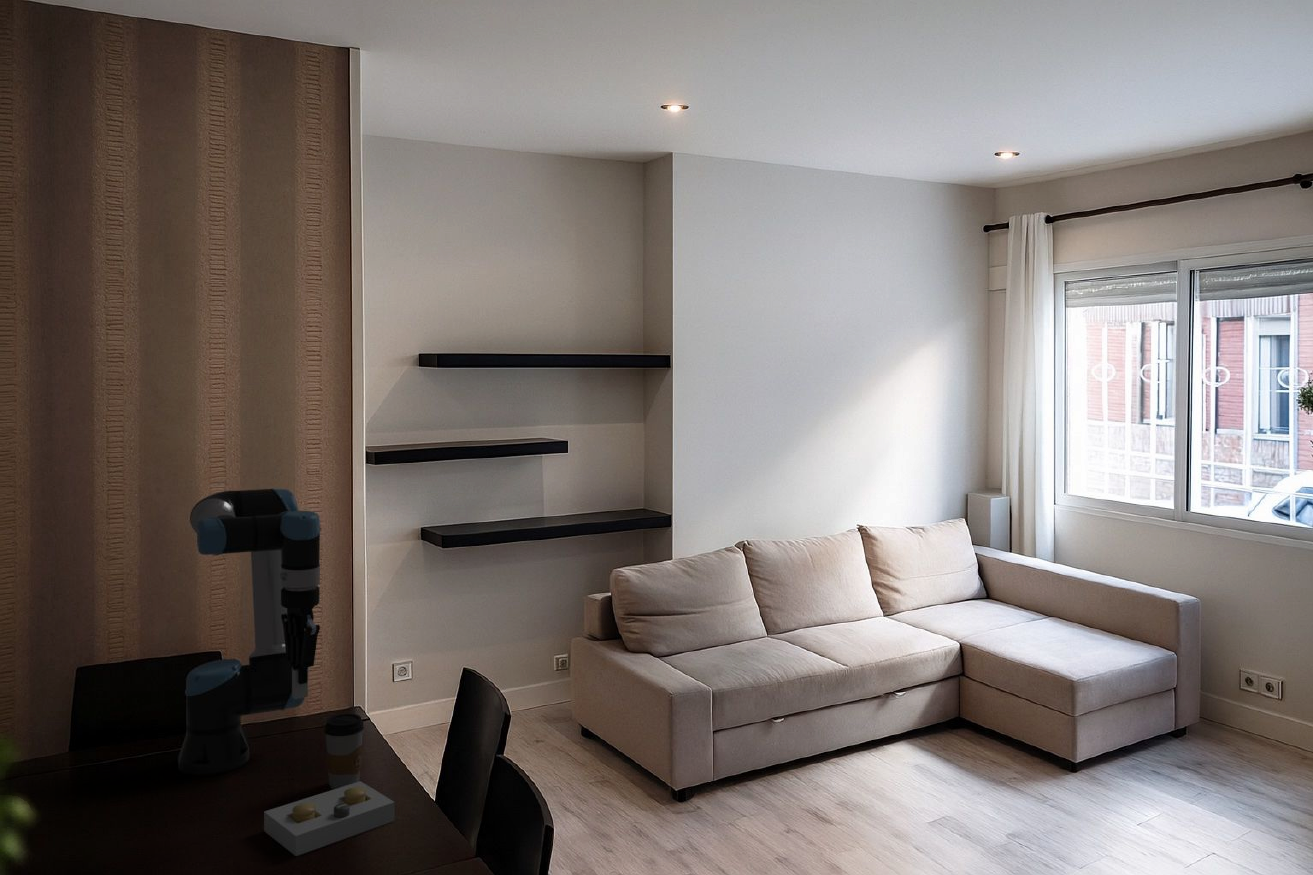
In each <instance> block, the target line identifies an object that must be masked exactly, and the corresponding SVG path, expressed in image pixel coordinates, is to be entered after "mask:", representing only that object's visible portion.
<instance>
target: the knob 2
mask: <svg viewBox="0 0 1313 875" xmlns="http://www.w3.org/2000/svg"><path fill="white" fill-rule="evenodd" d="M365 794H366V789H365V788H363V787H353V788H349V789H347V790H345V791H344V796H345V803H346V804H348V805H349V806H352V805H355V804H358V803H361V802H364V801H365Z"/></svg>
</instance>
